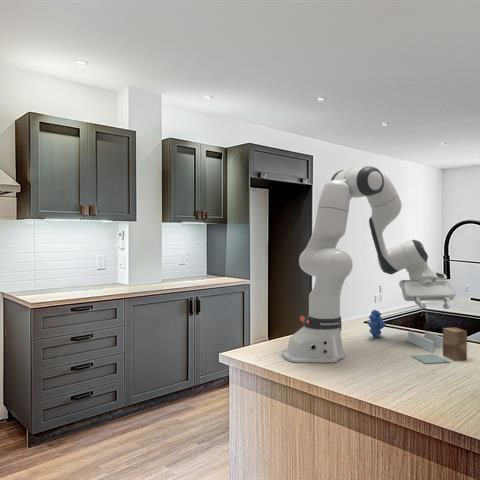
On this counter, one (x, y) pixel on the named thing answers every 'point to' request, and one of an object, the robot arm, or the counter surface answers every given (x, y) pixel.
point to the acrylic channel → (426, 340)
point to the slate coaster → (430, 359)
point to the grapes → (376, 323)
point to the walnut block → (455, 343)
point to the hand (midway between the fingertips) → (435, 308)
